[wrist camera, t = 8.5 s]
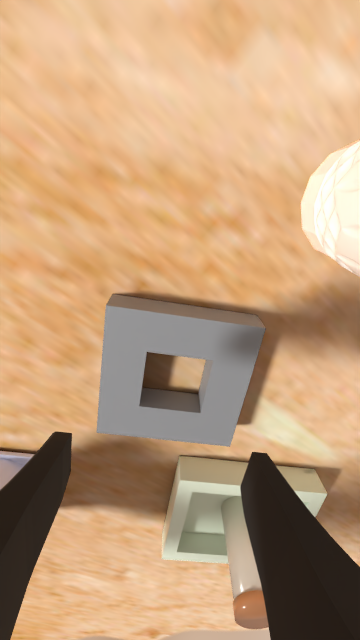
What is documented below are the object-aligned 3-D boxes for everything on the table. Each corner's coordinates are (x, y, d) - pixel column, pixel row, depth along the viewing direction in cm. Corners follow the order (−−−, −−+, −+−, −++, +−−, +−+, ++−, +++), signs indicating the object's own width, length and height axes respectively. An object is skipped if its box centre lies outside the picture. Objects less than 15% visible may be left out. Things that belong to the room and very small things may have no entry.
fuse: (218, 517, 28) (232, 628, 21) (221, 494, 27) (238, 604, 20) (251, 518, 28) (276, 629, 21) (256, 495, 27) (285, 605, 20)
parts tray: (162, 531, 30) (161, 559, 28) (179, 455, 26) (180, 480, 24) (280, 540, 31) (289, 567, 29) (314, 469, 27) (327, 493, 25)
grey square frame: (102, 412, 24) (96, 432, 22) (112, 293, 20) (105, 305, 18) (224, 425, 25) (229, 446, 23) (256, 314, 21) (265, 328, 19)
